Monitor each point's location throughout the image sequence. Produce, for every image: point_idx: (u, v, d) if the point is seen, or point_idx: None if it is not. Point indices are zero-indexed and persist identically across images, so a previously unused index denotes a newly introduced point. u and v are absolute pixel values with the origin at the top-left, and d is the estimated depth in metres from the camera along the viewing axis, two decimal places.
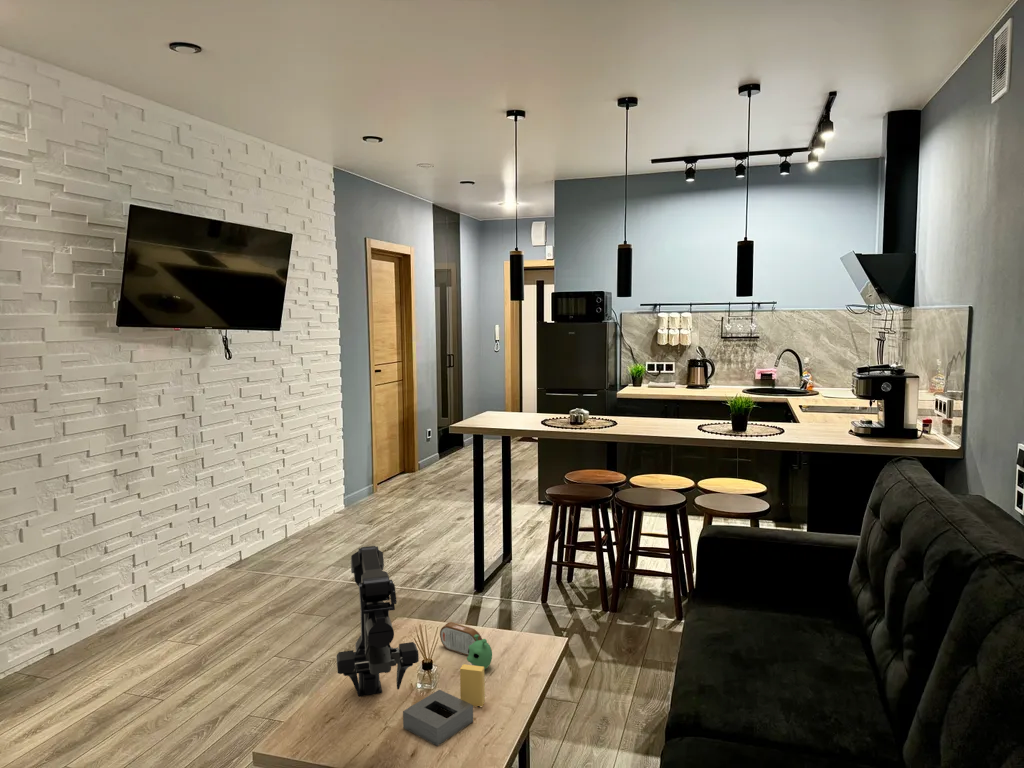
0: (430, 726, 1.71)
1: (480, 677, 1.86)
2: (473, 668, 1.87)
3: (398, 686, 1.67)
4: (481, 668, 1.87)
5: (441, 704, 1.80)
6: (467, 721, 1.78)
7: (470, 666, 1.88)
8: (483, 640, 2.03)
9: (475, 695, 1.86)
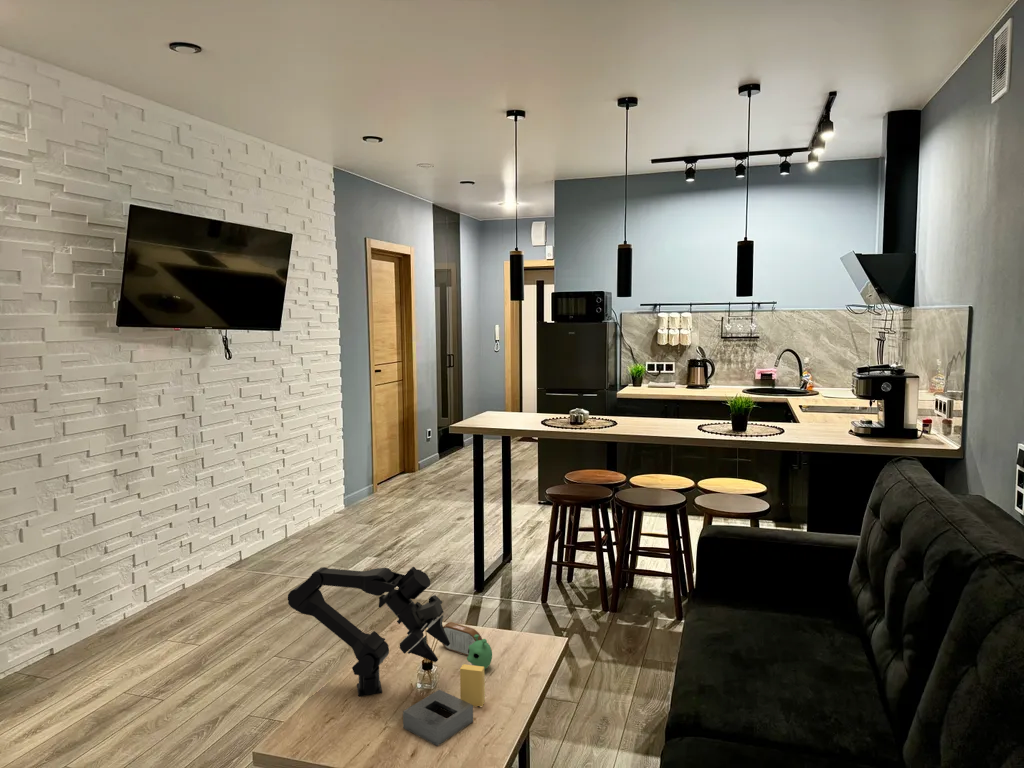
0: (430, 726, 1.71)
1: (480, 677, 1.86)
2: (473, 668, 1.87)
3: (448, 641, 1.93)
4: (481, 668, 1.87)
5: (441, 704, 1.80)
6: (467, 721, 1.78)
7: (470, 666, 1.88)
8: (483, 640, 2.03)
9: (475, 695, 1.86)
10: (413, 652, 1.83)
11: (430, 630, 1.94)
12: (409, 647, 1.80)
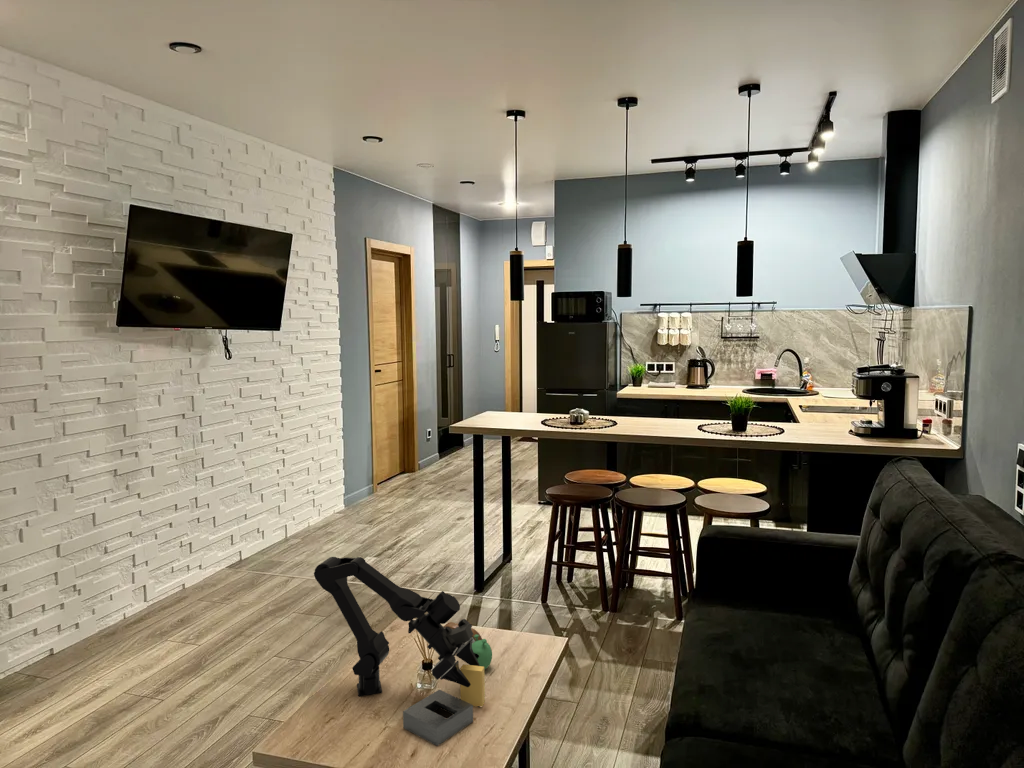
0: (430, 726, 1.71)
1: (480, 677, 1.86)
2: (473, 668, 1.87)
3: (478, 664, 1.92)
4: (481, 668, 1.87)
5: (441, 704, 1.80)
6: (467, 721, 1.78)
7: (470, 666, 1.88)
8: (483, 640, 2.03)
9: (475, 695, 1.86)
10: (445, 678, 1.82)
11: (460, 654, 1.93)
12: (442, 673, 1.79)
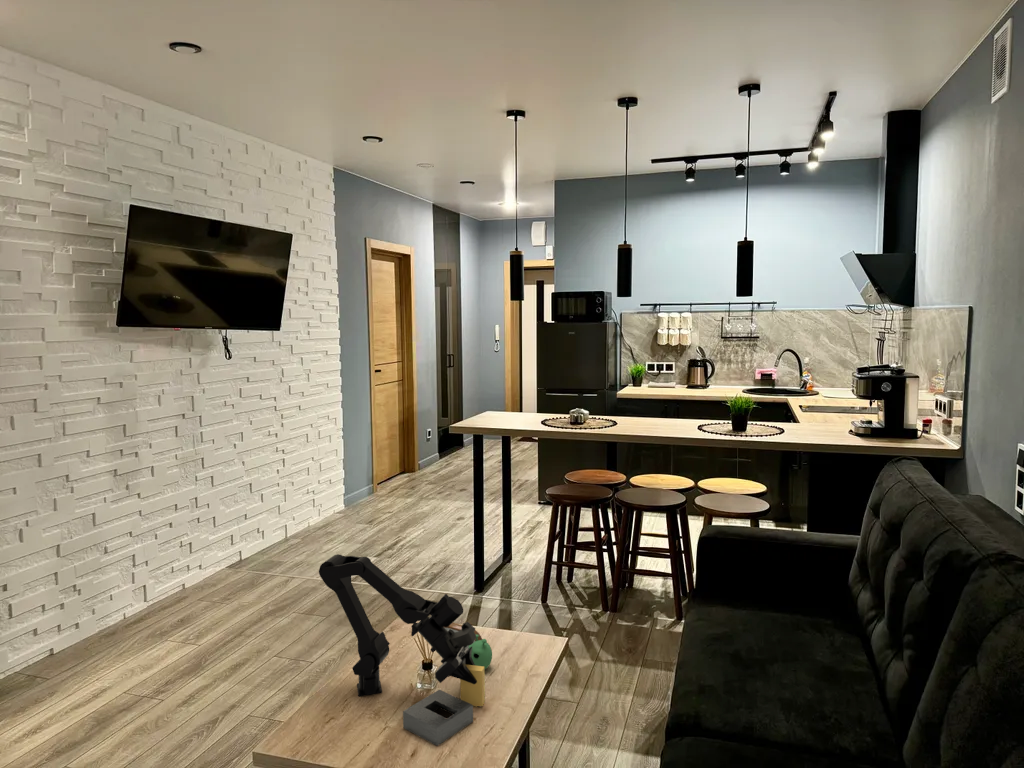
0: (430, 726, 1.71)
1: (480, 677, 1.86)
2: (474, 668, 1.87)
3: None
4: (481, 668, 1.87)
5: (441, 704, 1.80)
6: (467, 721, 1.78)
7: (470, 666, 1.88)
8: (483, 640, 2.03)
9: (475, 695, 1.86)
10: (452, 675, 1.85)
11: None
12: (445, 676, 1.79)
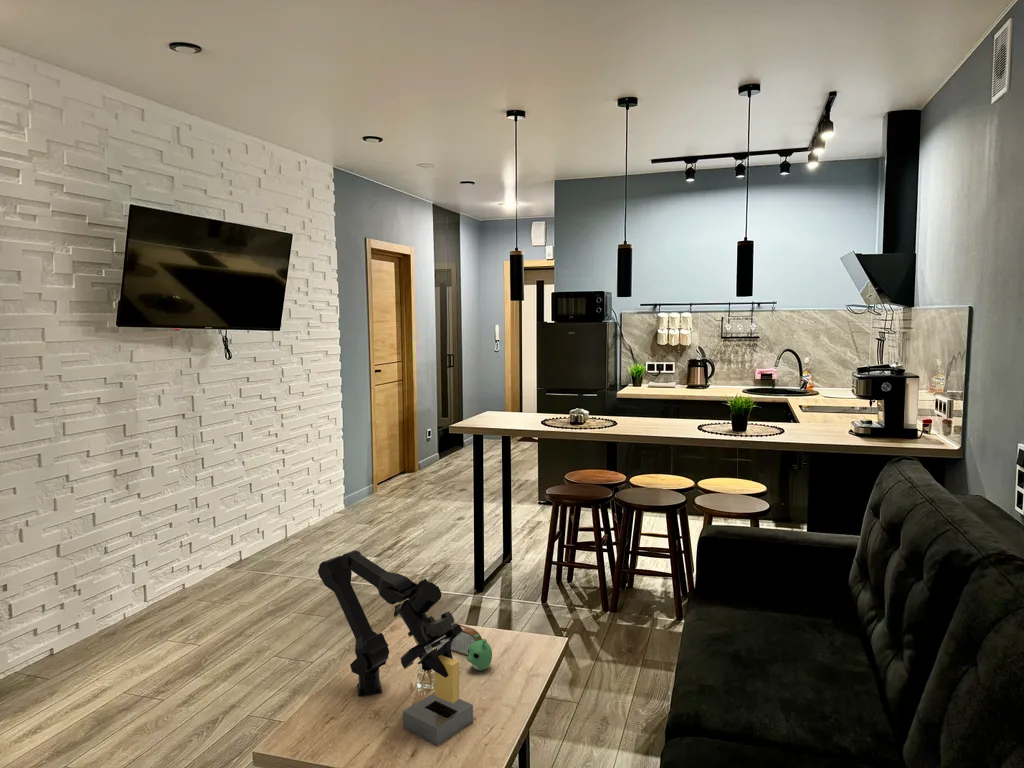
0: (430, 726, 1.71)
1: (451, 671, 1.75)
2: (447, 660, 1.77)
3: None
4: (454, 662, 1.76)
5: (441, 704, 1.80)
6: (467, 721, 1.78)
7: (445, 658, 1.78)
8: (483, 640, 2.03)
9: (447, 689, 1.76)
10: (424, 663, 1.77)
11: (438, 652, 1.81)
12: (408, 663, 1.72)
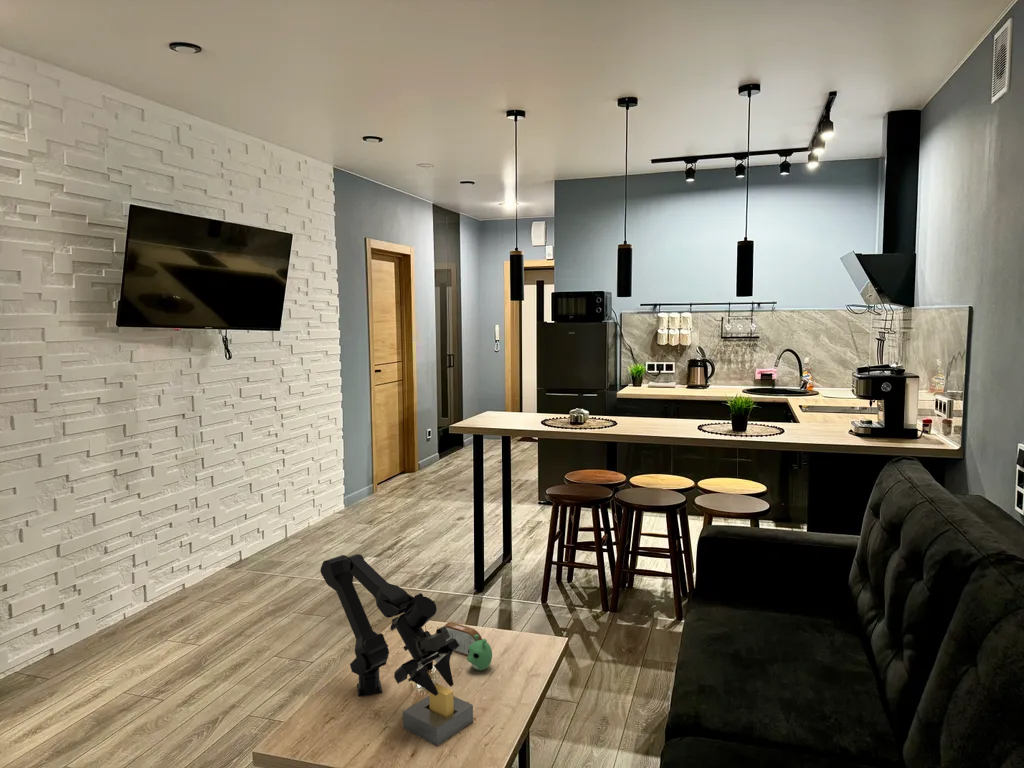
0: (430, 726, 1.71)
1: (445, 701, 1.74)
2: (442, 690, 1.76)
3: (451, 681, 1.78)
4: (449, 692, 1.75)
5: None
6: (467, 721, 1.78)
7: (440, 687, 1.77)
8: (483, 640, 2.03)
9: None
10: (414, 680, 1.75)
11: (437, 665, 1.81)
12: (400, 678, 1.72)
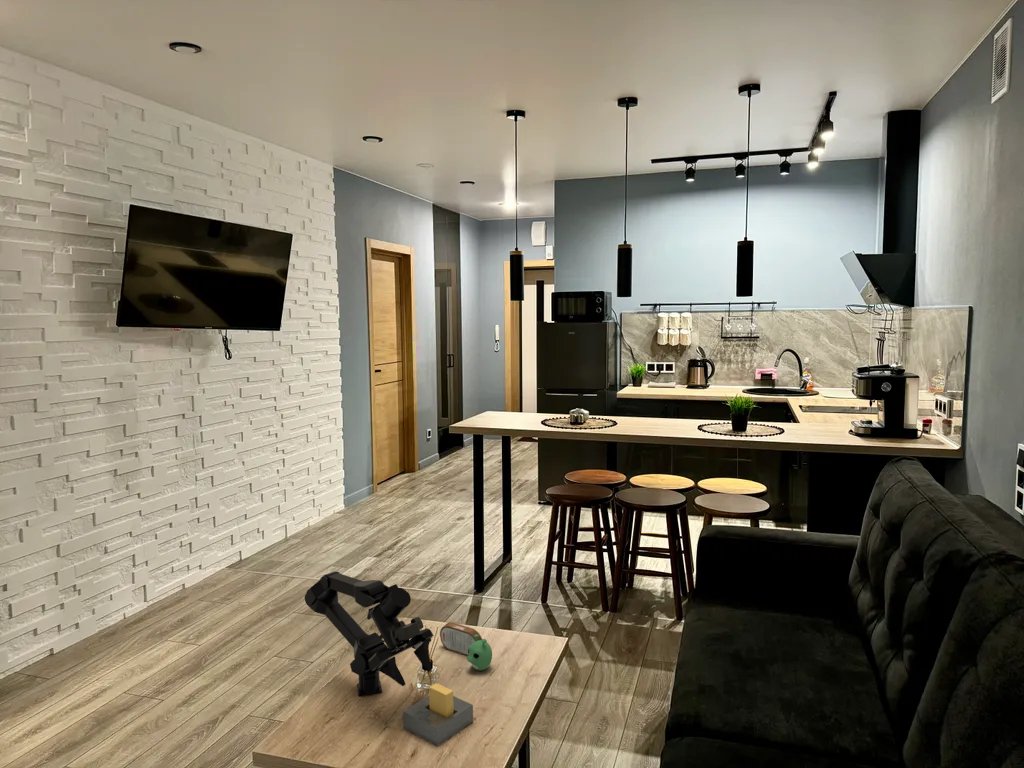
0: (430, 726, 1.71)
1: (445, 701, 1.74)
2: (442, 689, 1.76)
3: (430, 666, 1.85)
4: (448, 691, 1.75)
5: None
6: (467, 721, 1.78)
7: (440, 687, 1.77)
8: (483, 640, 2.03)
9: None
10: (383, 671, 1.80)
11: (416, 652, 1.89)
12: (374, 665, 1.77)
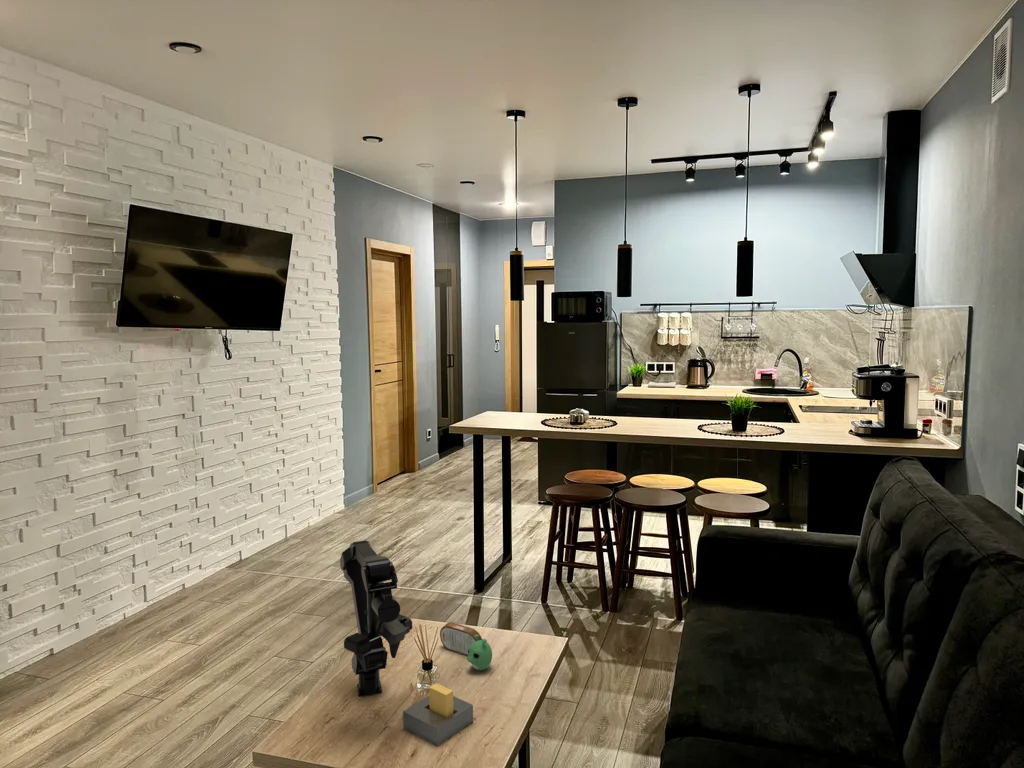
0: (430, 726, 1.71)
1: (445, 701, 1.74)
2: (442, 689, 1.76)
3: (395, 655, 1.86)
4: (448, 692, 1.75)
5: None
6: (467, 721, 1.78)
7: (440, 687, 1.77)
8: (483, 640, 2.03)
9: None
10: None
11: None
12: (349, 649, 1.75)
